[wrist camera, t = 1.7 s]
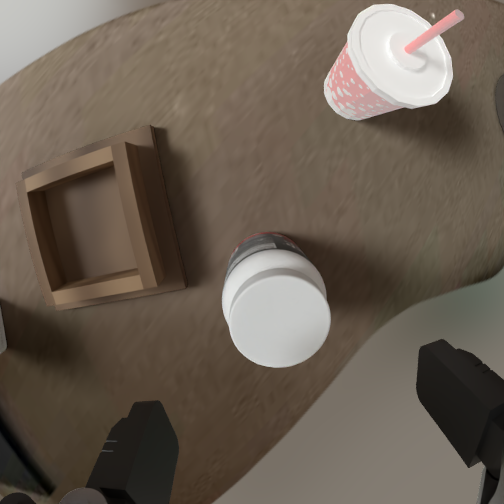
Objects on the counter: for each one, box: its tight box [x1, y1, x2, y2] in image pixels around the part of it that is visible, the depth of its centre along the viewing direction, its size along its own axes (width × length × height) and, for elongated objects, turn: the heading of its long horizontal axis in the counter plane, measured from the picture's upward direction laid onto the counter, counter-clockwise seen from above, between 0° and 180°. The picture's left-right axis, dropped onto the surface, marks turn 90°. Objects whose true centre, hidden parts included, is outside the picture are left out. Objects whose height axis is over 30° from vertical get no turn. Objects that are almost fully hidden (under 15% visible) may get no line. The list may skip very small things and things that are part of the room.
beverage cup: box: [324, 4, 464, 120], centre depth 14 cm, size 6×6×14 cm
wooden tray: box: [16, 125, 188, 311], centre depth 21 cm, size 12×12×4 cm
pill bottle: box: [222, 232, 331, 368], centre depth 19 cm, size 6×6×10 cm
